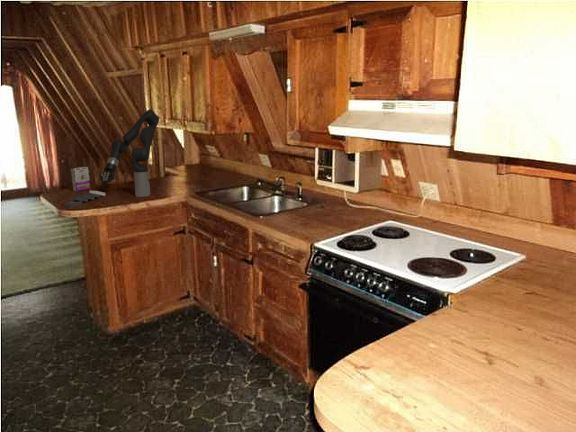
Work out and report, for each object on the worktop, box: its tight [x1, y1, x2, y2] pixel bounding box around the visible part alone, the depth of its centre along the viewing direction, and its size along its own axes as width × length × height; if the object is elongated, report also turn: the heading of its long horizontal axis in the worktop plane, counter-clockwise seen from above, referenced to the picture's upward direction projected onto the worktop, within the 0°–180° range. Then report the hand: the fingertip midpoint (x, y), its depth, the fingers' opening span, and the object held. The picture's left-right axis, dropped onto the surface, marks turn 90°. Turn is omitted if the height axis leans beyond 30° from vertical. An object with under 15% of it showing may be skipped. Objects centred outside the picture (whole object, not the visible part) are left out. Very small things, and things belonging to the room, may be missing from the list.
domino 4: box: [83, 192, 101, 199], centre depth 306 cm, size 2×5×10 cm
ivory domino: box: [88, 189, 106, 197], centre depth 311 cm, size 2×5×10 cm
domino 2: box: [70, 195, 89, 203], centre depth 295 cm, size 2×5×10 cm
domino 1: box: [63, 200, 83, 208], centre depth 290 cm, size 2×5×10 cm
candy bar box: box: [70, 166, 92, 192], centre depth 329 cm, size 11×5×16 cm, turn 143°
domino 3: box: [76, 193, 96, 201], centre depth 300 cm, size 2×5×10 cm
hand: (103, 186), depth 316 cm, fingers closed
